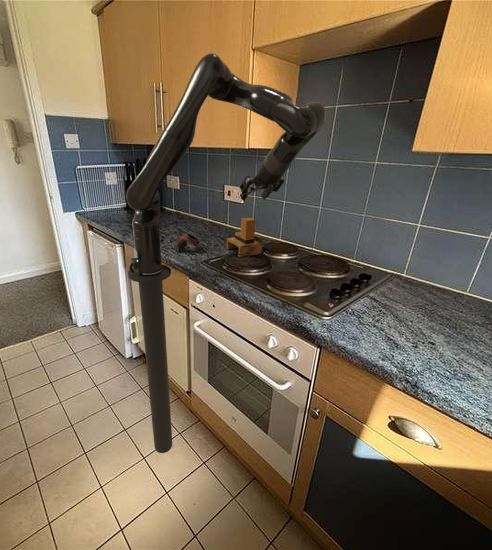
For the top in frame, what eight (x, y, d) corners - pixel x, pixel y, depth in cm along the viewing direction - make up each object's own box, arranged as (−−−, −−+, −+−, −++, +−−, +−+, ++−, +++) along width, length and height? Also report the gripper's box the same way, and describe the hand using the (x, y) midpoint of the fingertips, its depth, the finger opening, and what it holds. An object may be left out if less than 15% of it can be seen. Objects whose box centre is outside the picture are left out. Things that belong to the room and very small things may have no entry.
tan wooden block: (239, 257, 127) (240, 241, 124) (226, 248, 137) (226, 233, 134) (261, 253, 132) (262, 238, 129) (247, 245, 142) (247, 231, 139)
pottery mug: (179, 246, 140) (188, 231, 138) (195, 258, 138) (204, 243, 136) (167, 247, 128) (177, 231, 126) (185, 260, 127) (194, 243, 125)
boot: (254, 242, 130) (255, 219, 126) (245, 244, 128) (246, 220, 124) (243, 237, 137) (244, 215, 133) (234, 238, 135) (235, 216, 131)
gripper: (289, 155, 95) (265, 188, 109) (251, 155, 89) (231, 190, 103) (298, 174, 93) (273, 205, 107) (260, 175, 87) (238, 208, 101)
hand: (252, 198), depth 105 cm, fingers open, 8 cm apart
